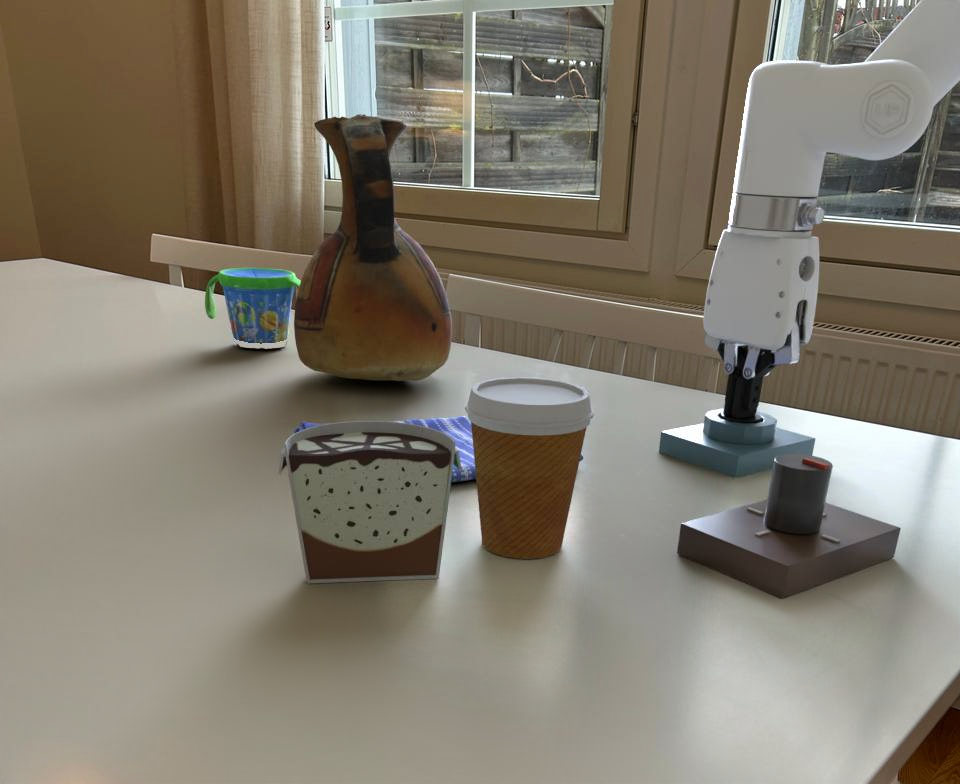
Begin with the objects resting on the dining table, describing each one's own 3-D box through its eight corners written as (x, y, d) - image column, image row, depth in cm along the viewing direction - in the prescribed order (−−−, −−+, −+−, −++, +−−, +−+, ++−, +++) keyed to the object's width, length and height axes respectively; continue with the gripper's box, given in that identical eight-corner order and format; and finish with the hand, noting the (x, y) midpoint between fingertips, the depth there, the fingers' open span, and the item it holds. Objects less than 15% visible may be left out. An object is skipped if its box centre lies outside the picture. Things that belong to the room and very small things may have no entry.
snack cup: (327, 344, 145) (324, 271, 140) (294, 358, 136) (289, 280, 131) (232, 335, 149) (226, 264, 144) (194, 348, 140) (187, 272, 135)
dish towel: (290, 447, 98) (288, 419, 97) (500, 425, 108) (501, 399, 106) (350, 501, 84) (349, 469, 83) (584, 470, 94) (586, 441, 93)
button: (736, 425, 102) (738, 408, 101) (767, 434, 99) (770, 417, 98) (710, 430, 100) (712, 413, 99) (741, 440, 97) (744, 422, 96)
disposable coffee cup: (436, 540, 77) (438, 386, 72) (522, 514, 83) (529, 370, 77) (521, 578, 71) (531, 414, 65) (607, 548, 77) (623, 394, 71)
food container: (447, 545, 76) (449, 417, 72) (459, 577, 71) (462, 441, 66) (285, 551, 74) (277, 419, 70) (285, 584, 69) (276, 444, 64)
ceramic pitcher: (431, 361, 137) (433, 118, 123) (469, 396, 120) (477, 117, 106) (288, 365, 132) (274, 111, 118) (307, 401, 115) (293, 110, 101)
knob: (752, 521, 76) (763, 454, 73) (786, 511, 78) (798, 446, 76) (796, 538, 73) (810, 469, 70) (831, 528, 75) (845, 460, 73)
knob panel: (788, 519, 84) (794, 489, 83) (893, 557, 77) (901, 525, 76) (676, 553, 76) (681, 521, 75) (782, 599, 69) (788, 564, 68)
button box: (734, 436, 107) (740, 399, 105) (811, 459, 100) (819, 420, 98) (658, 452, 101) (663, 413, 99) (735, 478, 94) (741, 437, 92)
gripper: (866, 223, 87) (825, 428, 95) (734, 210, 97) (707, 395, 106) (815, 225, 83) (776, 438, 91) (682, 210, 93) (659, 403, 102)
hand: (739, 414), depth 99 cm, fingers closed
